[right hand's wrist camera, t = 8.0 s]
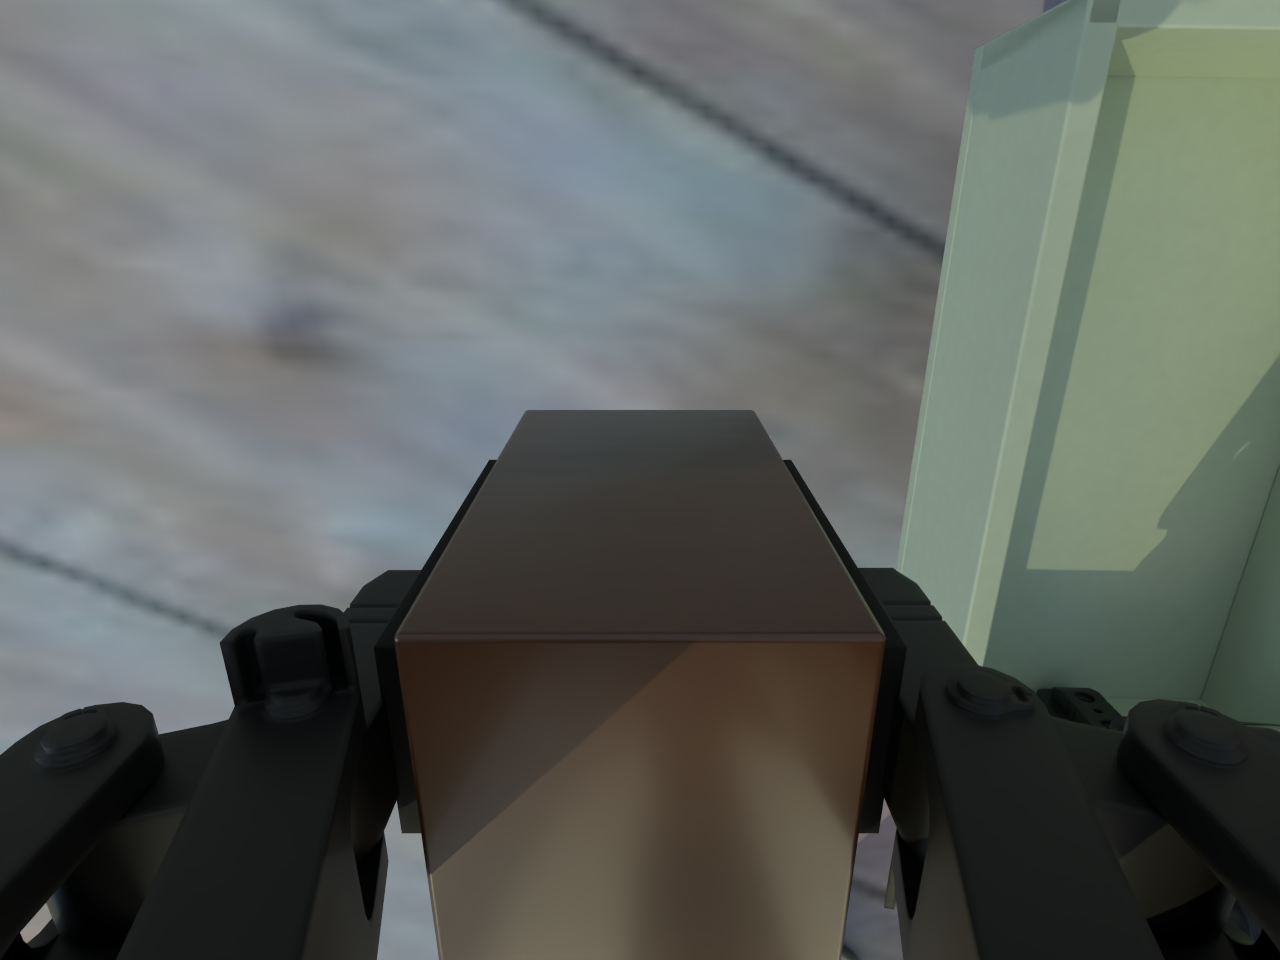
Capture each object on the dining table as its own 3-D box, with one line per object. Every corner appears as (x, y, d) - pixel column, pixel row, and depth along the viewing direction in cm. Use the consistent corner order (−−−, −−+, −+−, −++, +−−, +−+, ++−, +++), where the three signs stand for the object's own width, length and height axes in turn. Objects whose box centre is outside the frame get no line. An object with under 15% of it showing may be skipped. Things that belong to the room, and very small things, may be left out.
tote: (974, 47, 21) (1092, -16, 16) (1424, 54, 21) (1702, -6, 16) (874, 700, 29) (929, 813, 24) (1202, 705, 29) (1335, 820, 24)
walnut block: (524, 409, 14) (390, 636, 6) (754, 408, 14) (889, 635, 6) (536, 609, 15) (439, 981, 8) (743, 609, 15) (840, 980, 8)
